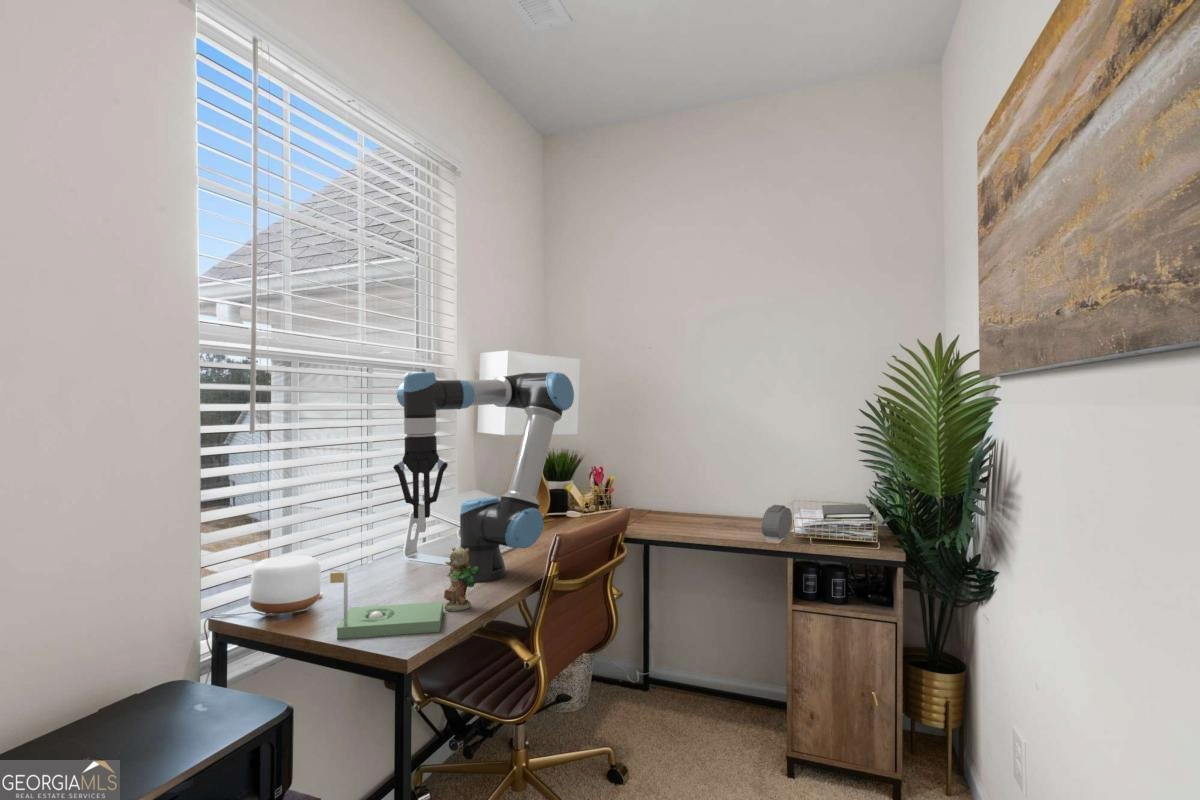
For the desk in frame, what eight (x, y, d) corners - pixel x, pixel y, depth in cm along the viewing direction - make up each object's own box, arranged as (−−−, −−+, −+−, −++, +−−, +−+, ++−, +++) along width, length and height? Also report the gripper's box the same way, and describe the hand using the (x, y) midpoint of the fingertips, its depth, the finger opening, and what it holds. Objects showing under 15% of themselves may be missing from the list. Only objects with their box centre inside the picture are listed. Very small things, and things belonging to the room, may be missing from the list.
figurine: (437, 609, 151) (437, 550, 151) (457, 600, 158) (457, 543, 158) (464, 615, 147) (464, 554, 147) (484, 606, 153) (484, 548, 153)
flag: (347, 624, 134) (348, 571, 134) (347, 625, 134) (347, 572, 134) (330, 625, 134) (331, 572, 134) (330, 626, 133) (330, 573, 133)
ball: (384, 625, 141) (383, 610, 143) (384, 623, 139) (382, 608, 140) (369, 628, 140) (367, 614, 142) (368, 626, 137) (367, 611, 139)
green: (443, 611, 149) (443, 601, 149) (439, 631, 137) (439, 620, 137) (350, 617, 145) (350, 607, 145) (337, 639, 132) (337, 627, 132)
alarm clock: (776, 532, 239) (776, 500, 239) (791, 533, 236) (792, 501, 236) (761, 544, 219) (761, 509, 219) (778, 546, 216) (778, 511, 216)
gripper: (448, 433, 150) (449, 525, 151) (394, 434, 148) (396, 529, 148) (447, 435, 143) (449, 533, 144) (390, 437, 140) (392, 536, 141)
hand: (422, 530), depth 146 cm, fingers closed
